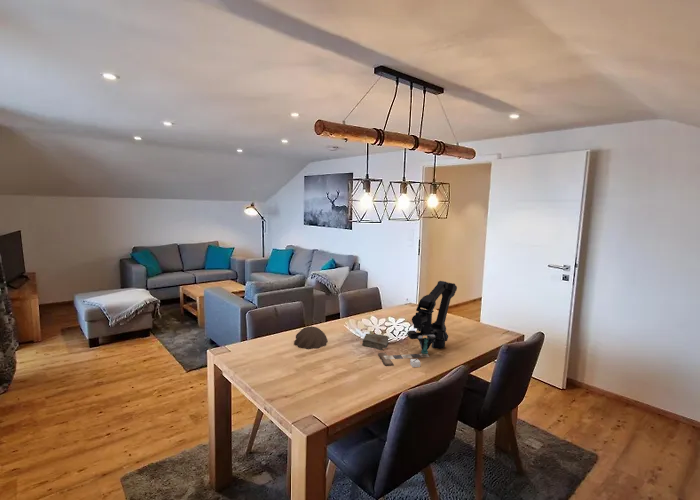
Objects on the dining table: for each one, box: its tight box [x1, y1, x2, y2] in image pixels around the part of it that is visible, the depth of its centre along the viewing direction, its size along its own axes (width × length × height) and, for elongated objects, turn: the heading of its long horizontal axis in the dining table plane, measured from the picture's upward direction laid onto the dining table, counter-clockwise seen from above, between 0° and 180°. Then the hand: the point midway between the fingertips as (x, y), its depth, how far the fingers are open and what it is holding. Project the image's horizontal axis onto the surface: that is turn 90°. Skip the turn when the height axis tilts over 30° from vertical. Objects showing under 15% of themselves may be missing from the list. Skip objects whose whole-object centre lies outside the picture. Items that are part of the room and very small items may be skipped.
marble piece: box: [361, 333, 390, 351], centre depth 220 cm, size 17×15×4 cm
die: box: [409, 358, 421, 368], centre depth 190 cm, size 4×4×4 cm
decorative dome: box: [293, 326, 328, 350], centre depth 220 cm, size 19×20×10 cm
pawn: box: [420, 337, 429, 355], centre depth 202 cm, size 4×4×8 cm
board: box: [377, 351, 431, 367], centre depth 201 cm, size 28×14×1 cm, turn 101°
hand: (424, 349), depth 202 cm, fingers closed on pawn, 3 cm apart
